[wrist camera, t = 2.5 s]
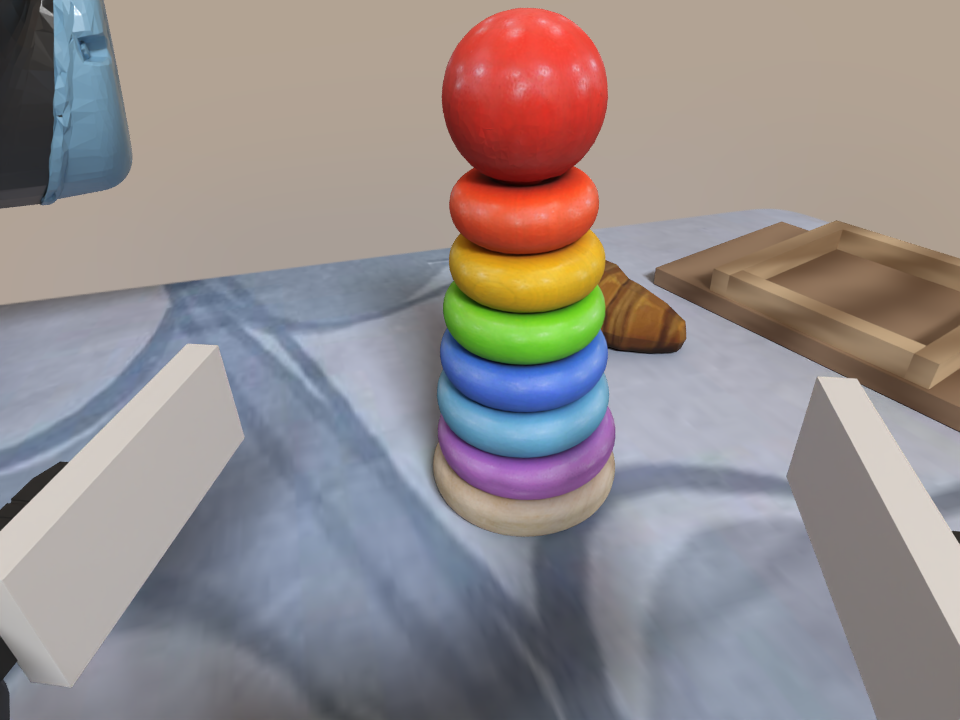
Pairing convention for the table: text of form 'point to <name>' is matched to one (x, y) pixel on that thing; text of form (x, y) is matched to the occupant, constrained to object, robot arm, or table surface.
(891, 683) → the robot arm
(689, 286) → the toy stand
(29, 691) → the table surface
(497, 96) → the stacking toy
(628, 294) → the croissant
